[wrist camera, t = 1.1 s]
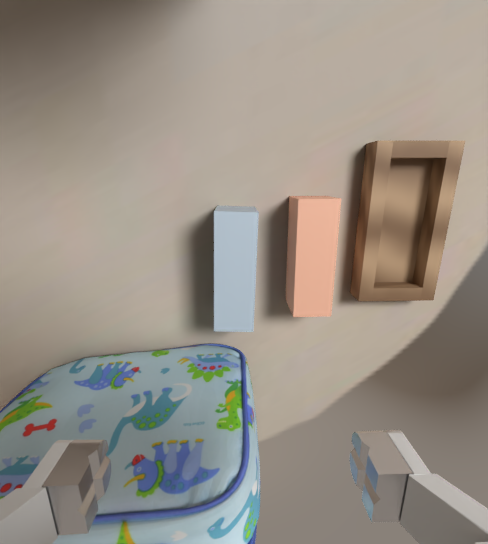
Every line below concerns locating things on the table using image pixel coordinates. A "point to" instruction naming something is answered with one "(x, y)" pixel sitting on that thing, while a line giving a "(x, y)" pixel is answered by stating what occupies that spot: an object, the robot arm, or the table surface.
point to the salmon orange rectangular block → (311, 254)
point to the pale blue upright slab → (235, 267)
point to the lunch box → (149, 442)
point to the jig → (403, 218)
